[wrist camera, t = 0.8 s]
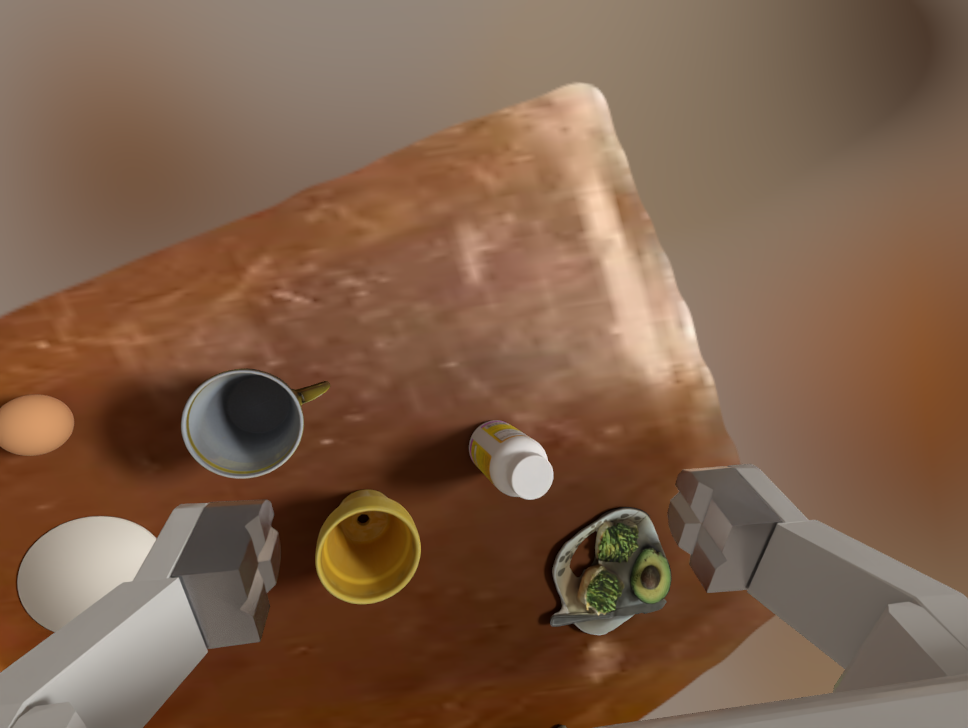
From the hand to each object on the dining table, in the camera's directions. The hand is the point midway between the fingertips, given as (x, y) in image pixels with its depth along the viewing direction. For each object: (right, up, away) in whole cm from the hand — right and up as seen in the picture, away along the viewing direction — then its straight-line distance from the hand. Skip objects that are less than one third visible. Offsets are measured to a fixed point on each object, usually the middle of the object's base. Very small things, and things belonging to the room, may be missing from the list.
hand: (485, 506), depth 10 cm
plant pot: (-14, -15, +48) cm, 53 cm away
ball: (-41, -3, +35) cm, 54 cm away
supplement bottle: (+1, -7, +52) cm, 53 cm away
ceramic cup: (-23, -1, +44) cm, 50 cm away
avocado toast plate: (+18, -26, +60) cm, 68 cm away
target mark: (-40, -19, +40) cm, 60 cm away
